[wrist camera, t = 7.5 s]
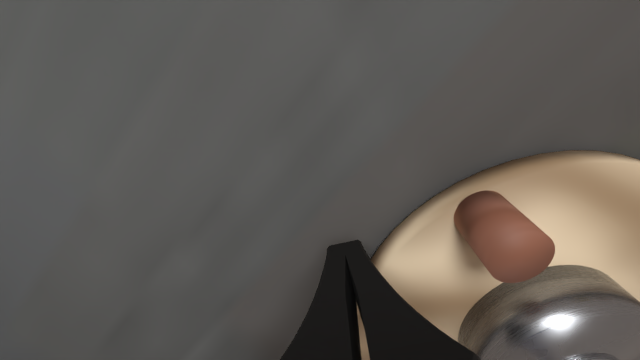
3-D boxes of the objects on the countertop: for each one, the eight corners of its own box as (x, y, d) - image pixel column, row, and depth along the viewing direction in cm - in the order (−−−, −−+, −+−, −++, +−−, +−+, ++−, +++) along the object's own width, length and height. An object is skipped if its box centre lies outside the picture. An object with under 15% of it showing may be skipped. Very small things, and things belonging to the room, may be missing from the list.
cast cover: (564, 379, 20) (620, 456, 17) (434, 368, 19) (464, 447, 16) (657, 276, 16) (755, 347, 13) (500, 254, 15) (560, 324, 12)
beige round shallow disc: (568, 409, 25) (619, 484, 21) (320, 387, 22) (324, 468, 18) (786, 190, 16) (946, 246, 12) (422, 110, 13) (473, 147, 9)
